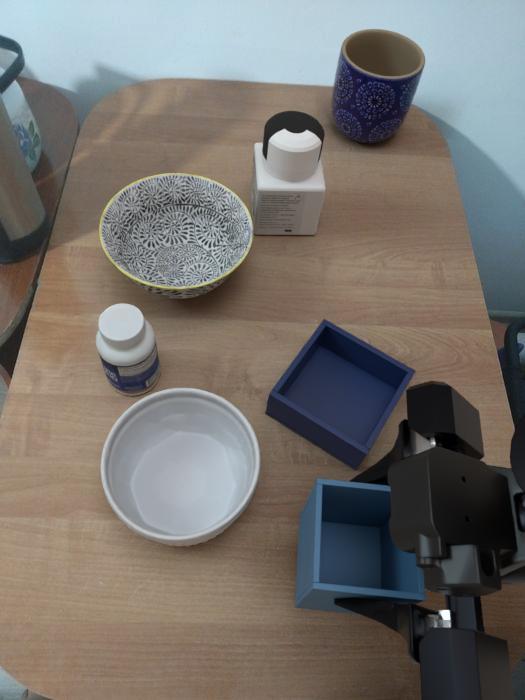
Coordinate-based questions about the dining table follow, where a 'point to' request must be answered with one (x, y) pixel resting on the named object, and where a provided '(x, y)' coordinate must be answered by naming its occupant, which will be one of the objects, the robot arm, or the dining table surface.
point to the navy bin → (339, 393)
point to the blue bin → (351, 549)
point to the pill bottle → (127, 349)
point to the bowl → (176, 233)
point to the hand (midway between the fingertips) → (338, 545)
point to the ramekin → (180, 466)
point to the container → (288, 176)
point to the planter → (375, 84)
